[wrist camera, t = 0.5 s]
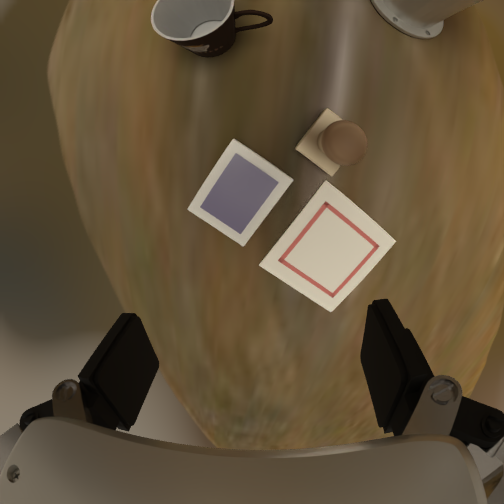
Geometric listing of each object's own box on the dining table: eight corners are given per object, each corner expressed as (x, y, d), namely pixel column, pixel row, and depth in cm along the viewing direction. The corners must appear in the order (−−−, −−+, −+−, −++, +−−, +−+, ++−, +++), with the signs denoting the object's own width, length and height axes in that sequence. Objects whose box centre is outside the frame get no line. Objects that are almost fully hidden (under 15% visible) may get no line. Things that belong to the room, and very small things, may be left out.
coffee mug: (168, 51, 28) (135, 28, 18) (203, 5, 24) (182, -29, 15) (240, 84, 29) (227, 64, 20) (276, 36, 26) (277, 3, 17)
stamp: (322, 110, 30) (347, 96, 19) (355, 136, 31) (392, 137, 20) (293, 148, 32) (304, 152, 21) (327, 173, 33) (352, 190, 22)
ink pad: (234, 138, 32) (232, 138, 31) (292, 178, 34) (293, 180, 32) (190, 206, 36) (186, 209, 35) (244, 242, 38) (243, 247, 36)
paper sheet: (325, 179, 34) (326, 180, 33) (395, 240, 36) (396, 241, 36) (258, 264, 39) (258, 265, 39) (330, 311, 41) (331, 312, 41)
